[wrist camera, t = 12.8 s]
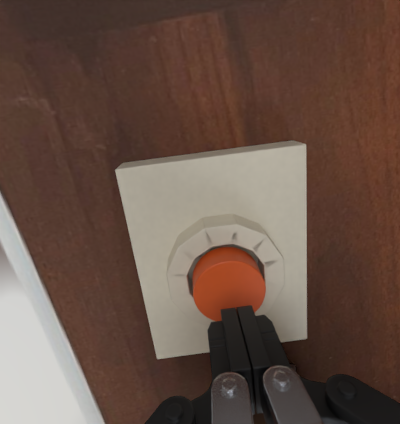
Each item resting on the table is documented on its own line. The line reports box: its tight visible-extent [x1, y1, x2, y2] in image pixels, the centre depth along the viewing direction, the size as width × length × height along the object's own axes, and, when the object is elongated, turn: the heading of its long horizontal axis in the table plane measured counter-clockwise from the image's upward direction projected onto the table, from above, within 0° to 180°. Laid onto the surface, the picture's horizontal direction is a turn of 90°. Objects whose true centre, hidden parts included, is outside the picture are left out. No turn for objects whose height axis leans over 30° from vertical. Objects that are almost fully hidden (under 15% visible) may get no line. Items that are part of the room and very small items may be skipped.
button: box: [192, 247, 266, 321], centre depth 17 cm, size 4×4×2 cm
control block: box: [115, 140, 307, 359], centre depth 19 cm, size 14×11×4 cm
